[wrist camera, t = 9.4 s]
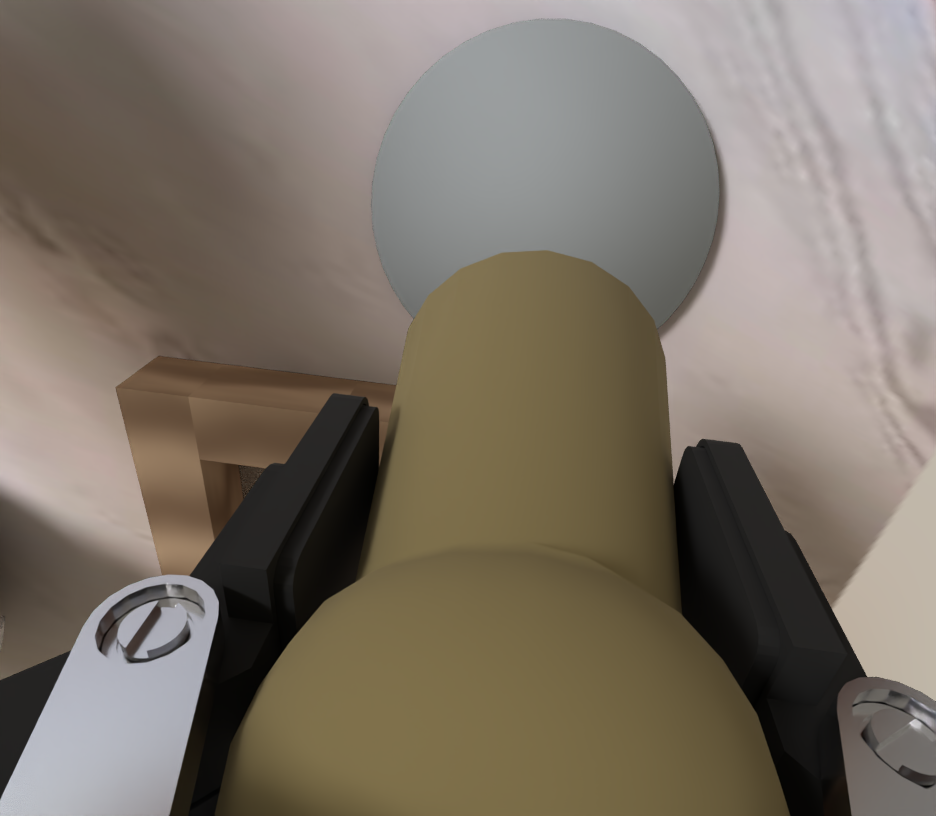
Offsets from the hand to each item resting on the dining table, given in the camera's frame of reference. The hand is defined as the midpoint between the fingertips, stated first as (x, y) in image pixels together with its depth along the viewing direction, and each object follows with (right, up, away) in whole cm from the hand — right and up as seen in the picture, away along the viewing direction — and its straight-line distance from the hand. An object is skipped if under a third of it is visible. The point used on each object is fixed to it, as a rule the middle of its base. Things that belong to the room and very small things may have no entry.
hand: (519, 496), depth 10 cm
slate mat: (+2, +11, +19) cm, 22 cm away
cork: (+1, +2, +4) cm, 5 cm away
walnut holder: (-12, -3, +28) cm, 31 cm away
